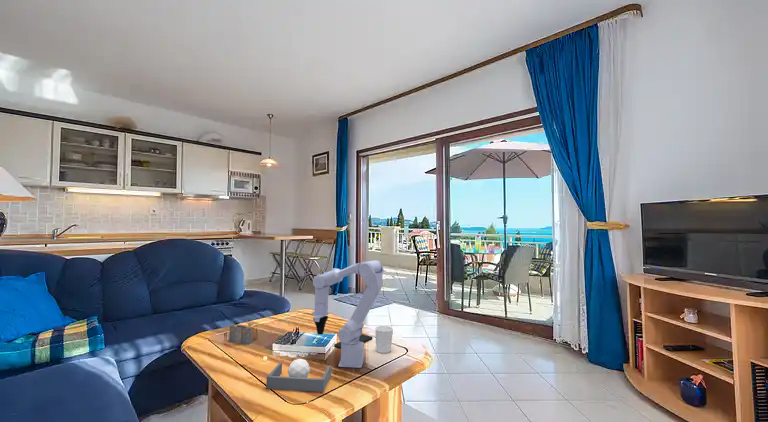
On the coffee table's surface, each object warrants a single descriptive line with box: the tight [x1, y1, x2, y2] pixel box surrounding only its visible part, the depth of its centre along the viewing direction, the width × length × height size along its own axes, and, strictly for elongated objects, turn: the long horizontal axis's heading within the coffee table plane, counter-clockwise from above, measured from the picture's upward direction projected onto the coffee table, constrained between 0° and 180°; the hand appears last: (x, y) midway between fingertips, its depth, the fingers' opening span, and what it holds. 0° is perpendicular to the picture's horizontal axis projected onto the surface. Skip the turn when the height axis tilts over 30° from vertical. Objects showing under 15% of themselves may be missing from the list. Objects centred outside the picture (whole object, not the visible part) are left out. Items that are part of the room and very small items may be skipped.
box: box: [265, 362, 332, 393], centre depth 121 cm, size 20×12×4 cm, turn 86°
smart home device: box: [333, 333, 373, 350], centre depth 161 cm, size 8×2×20 cm
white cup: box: [374, 325, 394, 354], centre depth 153 cm, size 8×8×10 cm
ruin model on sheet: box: [228, 322, 254, 346], centre depth 159 cm, size 11×3×10 cm, turn 70°
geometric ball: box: [287, 358, 311, 378], centre depth 122 cm, size 8×8×8 cm
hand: (320, 333), depth 145 cm, fingers closed
